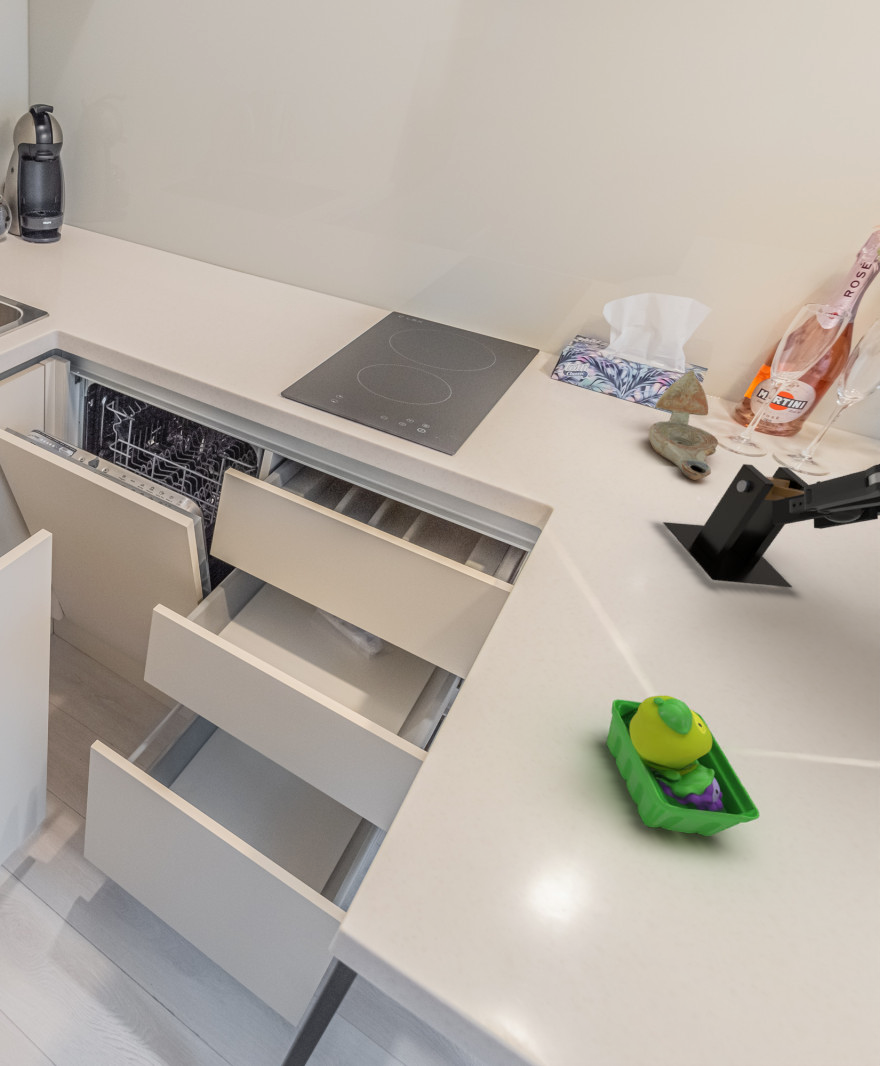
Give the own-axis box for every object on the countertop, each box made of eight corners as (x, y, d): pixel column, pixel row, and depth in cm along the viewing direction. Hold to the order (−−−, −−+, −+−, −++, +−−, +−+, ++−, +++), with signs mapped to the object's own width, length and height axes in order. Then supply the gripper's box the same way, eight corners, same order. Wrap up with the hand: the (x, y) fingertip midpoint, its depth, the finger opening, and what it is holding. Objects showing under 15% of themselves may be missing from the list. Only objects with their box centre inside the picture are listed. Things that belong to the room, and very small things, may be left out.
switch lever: (870, 527, 78) (882, 493, 77) (833, 524, 79) (844, 490, 78) (770, 501, 91) (779, 472, 90) (738, 499, 91) (747, 469, 90)
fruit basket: (732, 855, 63) (813, 772, 57) (618, 836, 64) (684, 753, 58) (671, 745, 72) (735, 662, 66) (572, 730, 73) (625, 648, 67)
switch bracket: (786, 595, 91) (854, 507, 83) (707, 587, 92) (767, 500, 84) (729, 535, 100) (785, 452, 93) (658, 529, 101) (708, 446, 93)
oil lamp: (691, 431, 124) (723, 375, 118) (723, 498, 108) (763, 436, 102) (631, 421, 126) (659, 365, 120) (654, 484, 110) (688, 423, 104)
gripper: (938, 501, 62) (718, 540, 85) (1162, 519, 61) (877, 554, 84) (933, 413, 63) (717, 476, 86) (1153, 429, 62) (874, 488, 85)
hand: (796, 514), depth 85 cm, fingers closed on switch lever, 4 cm apart
